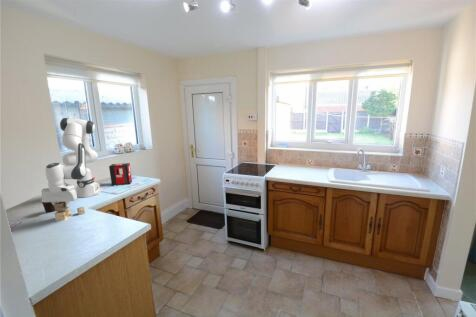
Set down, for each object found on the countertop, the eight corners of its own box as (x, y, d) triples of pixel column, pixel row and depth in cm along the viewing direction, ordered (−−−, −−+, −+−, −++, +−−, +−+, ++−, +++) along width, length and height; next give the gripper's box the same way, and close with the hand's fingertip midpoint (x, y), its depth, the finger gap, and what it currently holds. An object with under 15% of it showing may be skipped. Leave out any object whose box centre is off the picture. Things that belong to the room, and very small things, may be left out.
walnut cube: (60, 208, 151) (59, 201, 150) (68, 207, 151) (67, 200, 150) (55, 211, 146) (54, 204, 145) (63, 210, 146) (62, 203, 145)
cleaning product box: (132, 181, 231) (129, 163, 226) (129, 184, 222) (127, 165, 218) (114, 183, 227) (112, 164, 223) (111, 185, 219) (108, 166, 215)
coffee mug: (50, 215, 157) (48, 202, 155) (41, 214, 159) (38, 201, 157) (66, 208, 168) (63, 196, 166) (57, 207, 170) (54, 195, 168)
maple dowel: (79, 212, 158) (78, 207, 157) (85, 212, 159) (84, 206, 158) (76, 215, 154) (76, 209, 153) (83, 214, 155) (82, 208, 154)
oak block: (62, 216, 153) (60, 209, 152) (71, 215, 153) (69, 209, 152) (55, 220, 147) (54, 213, 146) (65, 219, 147) (63, 213, 146)
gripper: (37, 190, 142) (41, 210, 145) (70, 188, 143) (74, 208, 146) (44, 186, 148) (49, 206, 151) (76, 185, 149) (80, 204, 152)
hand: (61, 207), depth 148 cm, fingers closed on walnut cube, 5 cm apart
